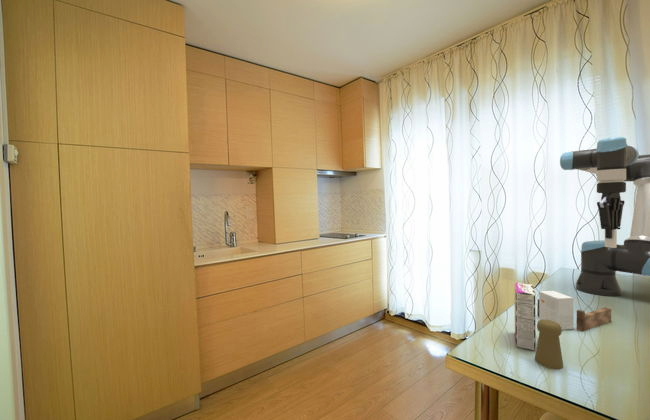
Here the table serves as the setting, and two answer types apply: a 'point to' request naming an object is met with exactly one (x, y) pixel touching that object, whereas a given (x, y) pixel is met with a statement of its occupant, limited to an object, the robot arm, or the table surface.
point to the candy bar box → (525, 316)
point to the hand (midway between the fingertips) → (610, 247)
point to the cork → (549, 345)
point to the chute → (590, 318)
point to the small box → (556, 308)
